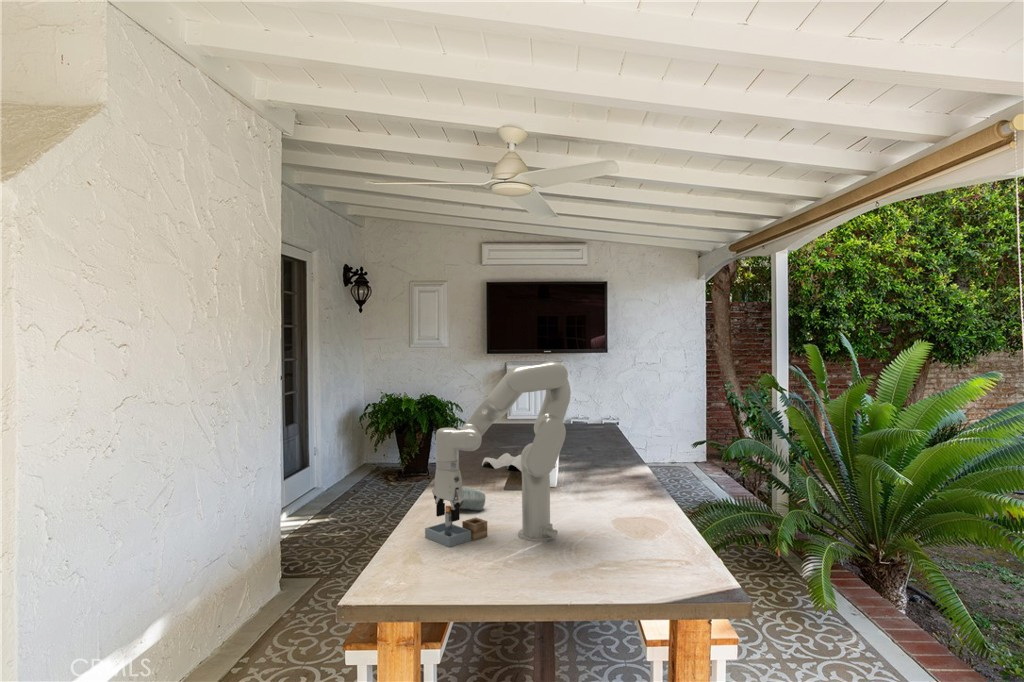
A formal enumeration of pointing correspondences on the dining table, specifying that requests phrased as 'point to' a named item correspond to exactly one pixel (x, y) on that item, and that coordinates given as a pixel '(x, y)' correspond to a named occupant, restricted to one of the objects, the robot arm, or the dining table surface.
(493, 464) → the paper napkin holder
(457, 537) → the tray
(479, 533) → the brown wooden socket block
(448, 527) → the lock pin
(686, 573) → the dining table surface
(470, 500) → the spool
